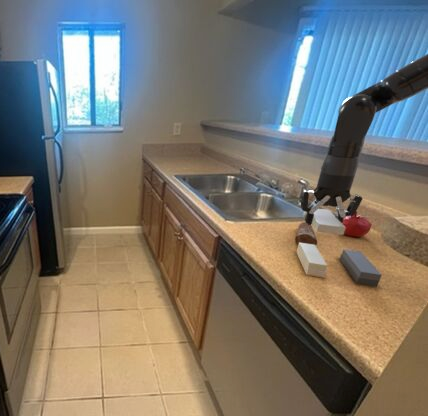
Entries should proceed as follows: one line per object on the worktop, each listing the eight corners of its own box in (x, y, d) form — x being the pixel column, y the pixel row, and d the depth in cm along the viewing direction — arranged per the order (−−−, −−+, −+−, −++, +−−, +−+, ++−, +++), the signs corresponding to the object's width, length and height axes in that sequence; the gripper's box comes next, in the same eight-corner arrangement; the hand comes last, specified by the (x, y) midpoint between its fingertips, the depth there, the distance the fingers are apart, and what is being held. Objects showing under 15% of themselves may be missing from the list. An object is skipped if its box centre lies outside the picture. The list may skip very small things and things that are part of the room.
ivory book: (327, 216, 87) (329, 209, 87) (343, 235, 75) (345, 227, 75) (304, 214, 90) (306, 207, 89) (316, 231, 78) (319, 224, 77)
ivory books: (311, 254, 93) (314, 244, 92) (324, 277, 81) (328, 266, 80) (296, 252, 95) (299, 242, 93) (306, 274, 83) (309, 263, 81)
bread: (293, 246, 98) (296, 232, 96) (296, 228, 113) (299, 215, 111) (314, 251, 95) (319, 237, 93) (315, 231, 109) (319, 219, 107)
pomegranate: (364, 242, 100) (372, 218, 97) (330, 233, 108) (337, 211, 104) (369, 234, 106) (377, 211, 103) (337, 226, 113) (344, 205, 110)
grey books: (356, 261, 88) (360, 250, 87) (377, 287, 77) (382, 275, 75) (339, 259, 90) (342, 248, 89) (356, 283, 78) (361, 271, 77)
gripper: (310, 172, 76) (296, 227, 82) (377, 176, 71) (356, 234, 77) (304, 166, 83) (291, 218, 89) (364, 170, 77) (346, 224, 83)
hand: (321, 225), depth 83 cm, fingers closed on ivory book, 6 cm apart
